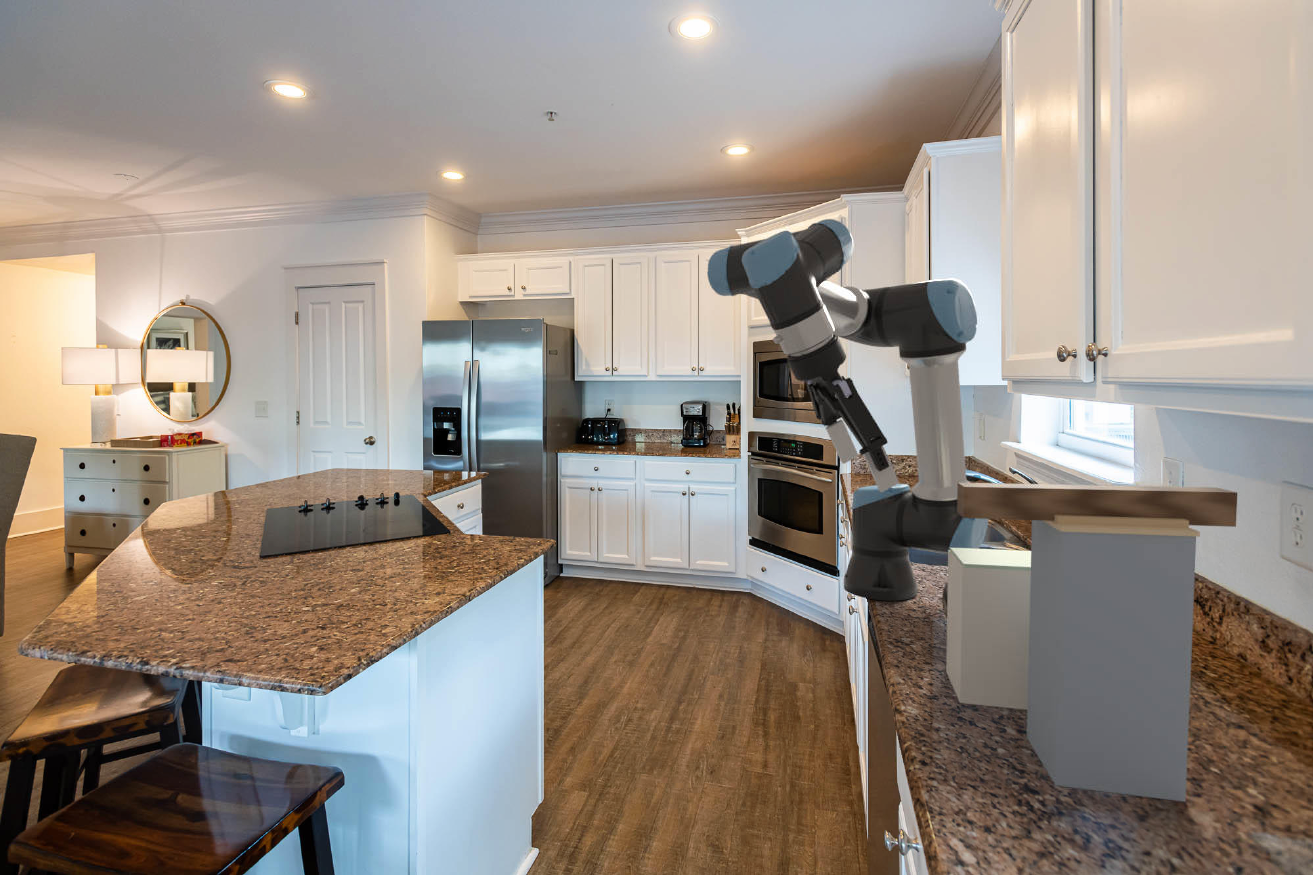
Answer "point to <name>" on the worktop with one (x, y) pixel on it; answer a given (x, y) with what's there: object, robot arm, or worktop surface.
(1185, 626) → the pillar
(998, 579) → the felt block
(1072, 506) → the walnut block
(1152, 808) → the worktop surface
